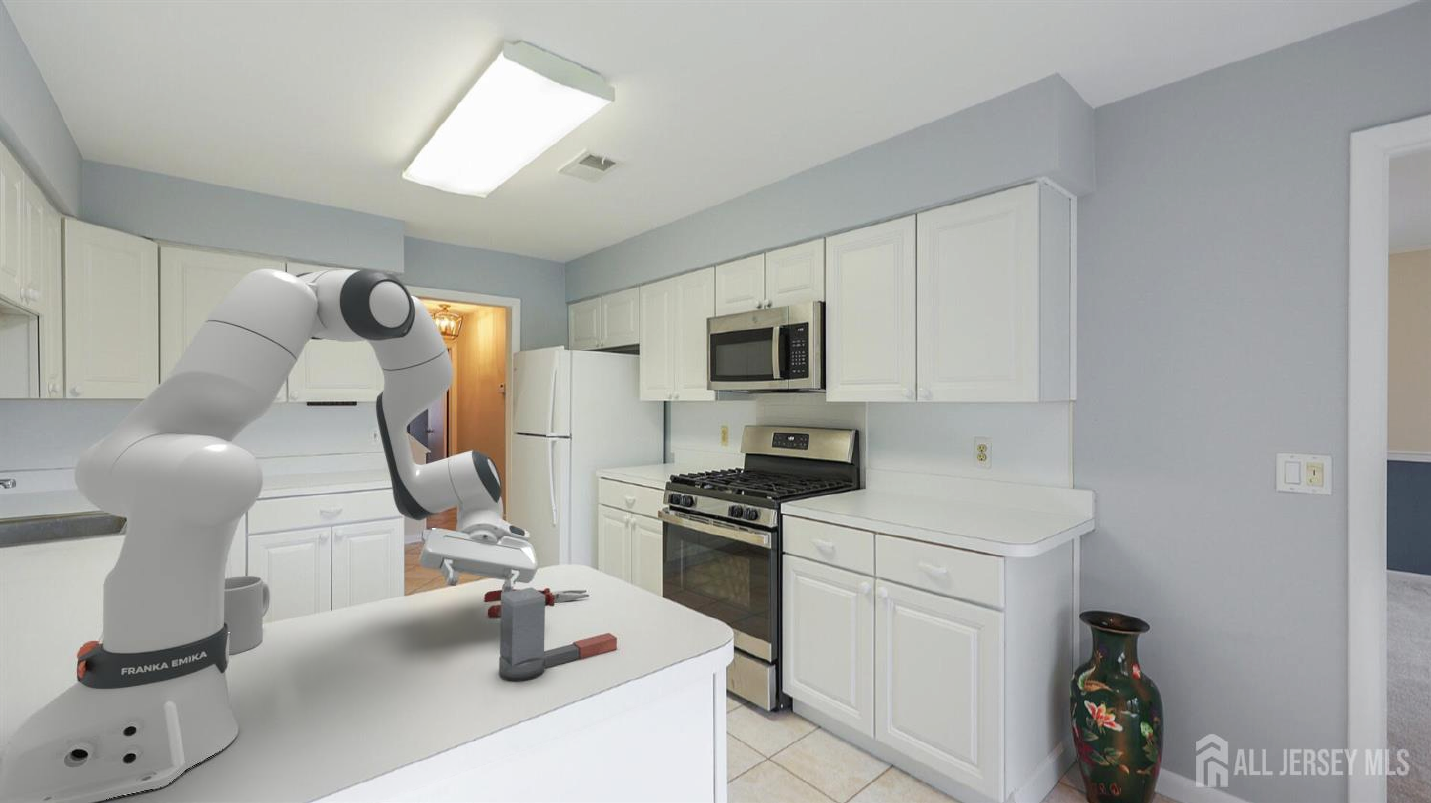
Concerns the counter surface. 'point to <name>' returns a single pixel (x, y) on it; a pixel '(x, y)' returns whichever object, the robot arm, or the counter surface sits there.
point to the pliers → (549, 596)
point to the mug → (245, 611)
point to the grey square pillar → (522, 626)
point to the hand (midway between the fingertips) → (480, 586)
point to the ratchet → (557, 657)
